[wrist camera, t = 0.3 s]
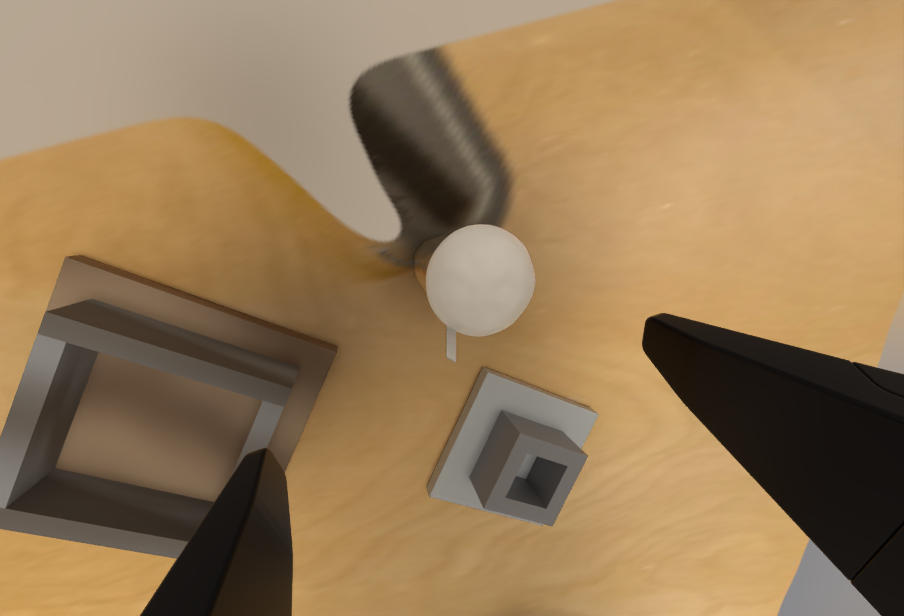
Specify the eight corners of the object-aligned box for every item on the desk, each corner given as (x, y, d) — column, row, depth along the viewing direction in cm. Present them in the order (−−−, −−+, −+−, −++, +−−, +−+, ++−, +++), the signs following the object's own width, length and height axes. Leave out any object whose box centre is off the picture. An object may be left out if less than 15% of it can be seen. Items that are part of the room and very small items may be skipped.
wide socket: (255, 537, 24) (236, 595, 20) (-5, 486, 20) (-87, 546, 17) (337, 346, 23) (334, 370, 19) (79, 255, 19) (12, 262, 15)
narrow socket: (536, 515, 29) (563, 559, 25) (426, 486, 26) (439, 531, 23) (590, 407, 28) (627, 436, 25) (483, 366, 26) (505, 391, 22)
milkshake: (379, 285, 23) (397, 328, 13) (430, 209, 23) (485, 197, 13) (441, 325, 24) (498, 389, 15) (490, 253, 24) (579, 271, 15)
